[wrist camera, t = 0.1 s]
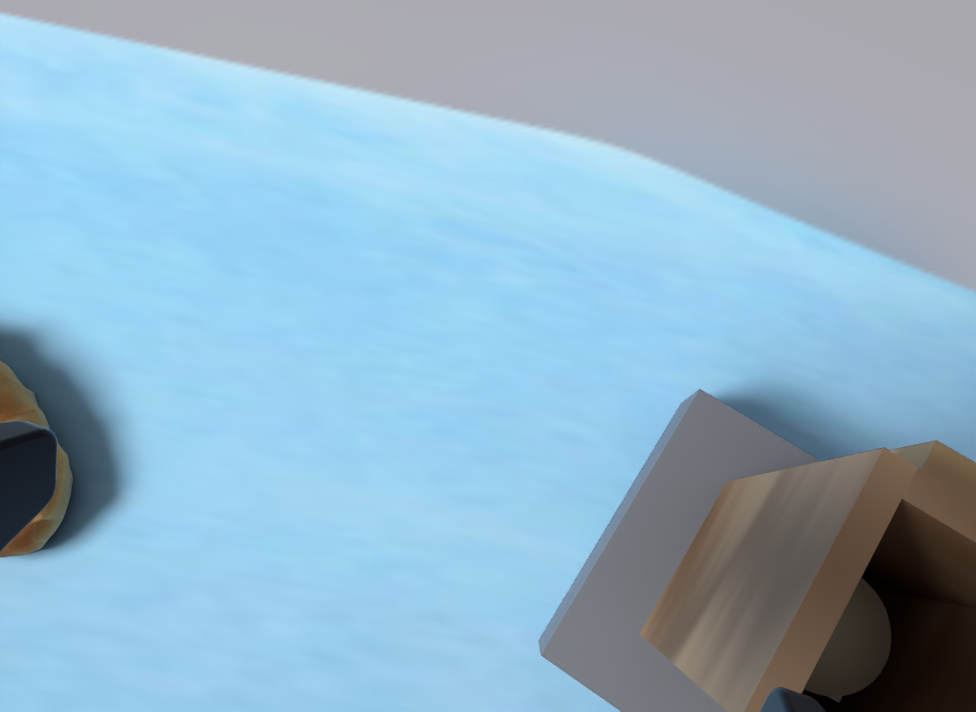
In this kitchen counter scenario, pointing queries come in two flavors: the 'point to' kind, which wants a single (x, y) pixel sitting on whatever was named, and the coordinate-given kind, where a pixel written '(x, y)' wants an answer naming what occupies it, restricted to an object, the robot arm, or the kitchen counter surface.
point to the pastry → (13, 402)
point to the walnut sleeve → (831, 581)
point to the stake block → (659, 551)
